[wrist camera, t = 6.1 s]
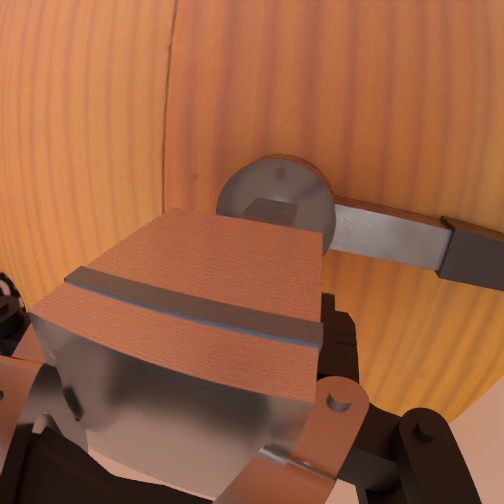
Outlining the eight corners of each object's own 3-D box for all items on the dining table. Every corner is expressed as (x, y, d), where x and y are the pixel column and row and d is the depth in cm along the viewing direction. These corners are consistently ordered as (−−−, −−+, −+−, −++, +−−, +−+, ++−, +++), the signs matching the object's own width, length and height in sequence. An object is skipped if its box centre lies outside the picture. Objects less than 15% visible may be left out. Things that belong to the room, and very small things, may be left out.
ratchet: (527, 217, 16) (580, 255, 10) (498, 298, 19) (534, 351, 13) (235, 147, 20) (193, 161, 13) (226, 245, 22) (188, 295, 16)
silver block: (324, 232, 9) (318, 400, 4) (295, 354, 12) (264, 509, 6) (171, 206, 10) (25, 307, 4) (172, 325, 12) (89, 448, 7)
